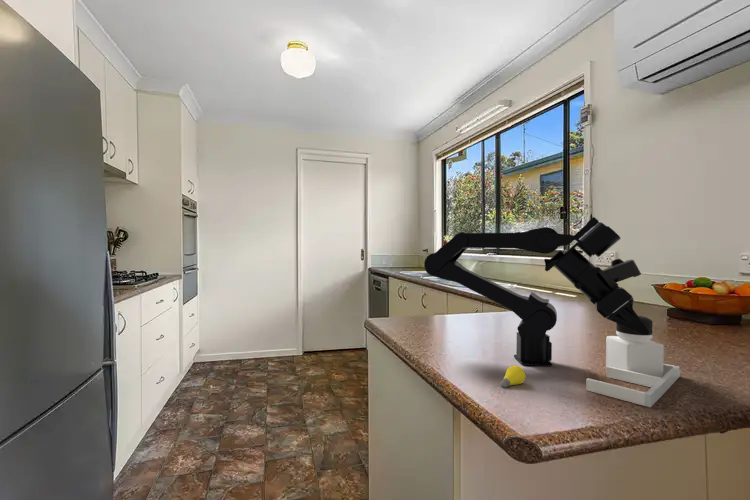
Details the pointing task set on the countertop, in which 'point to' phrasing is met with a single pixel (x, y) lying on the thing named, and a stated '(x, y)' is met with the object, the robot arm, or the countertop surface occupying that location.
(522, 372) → the light bulb
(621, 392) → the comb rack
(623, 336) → the medicine bottle
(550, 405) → the countertop surface
